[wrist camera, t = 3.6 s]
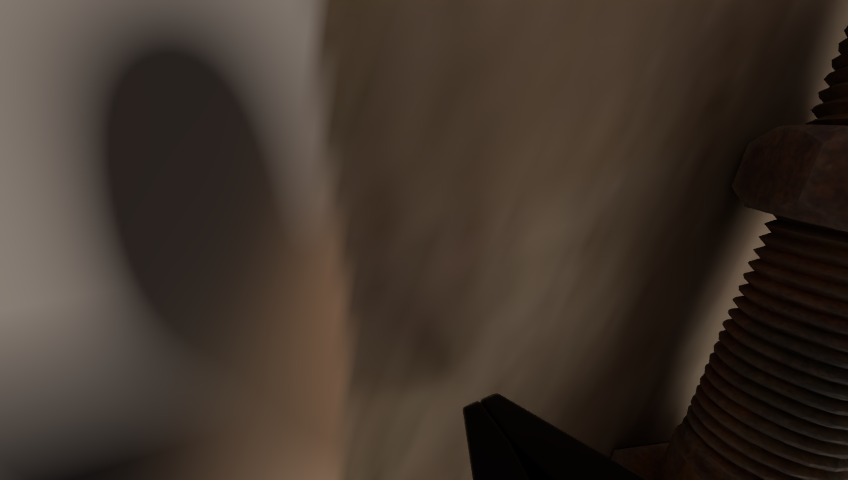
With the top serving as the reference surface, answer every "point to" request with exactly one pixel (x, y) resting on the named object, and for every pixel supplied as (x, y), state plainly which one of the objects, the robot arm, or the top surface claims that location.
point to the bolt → (779, 321)
